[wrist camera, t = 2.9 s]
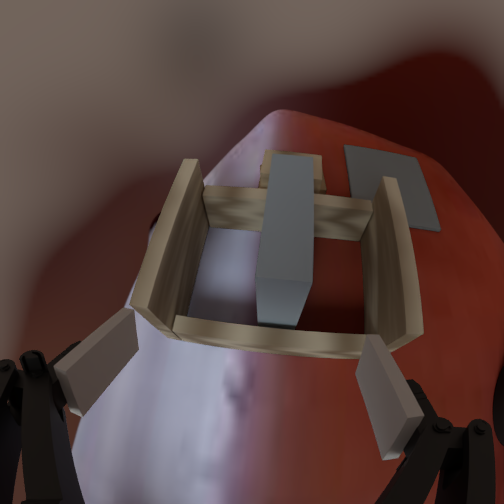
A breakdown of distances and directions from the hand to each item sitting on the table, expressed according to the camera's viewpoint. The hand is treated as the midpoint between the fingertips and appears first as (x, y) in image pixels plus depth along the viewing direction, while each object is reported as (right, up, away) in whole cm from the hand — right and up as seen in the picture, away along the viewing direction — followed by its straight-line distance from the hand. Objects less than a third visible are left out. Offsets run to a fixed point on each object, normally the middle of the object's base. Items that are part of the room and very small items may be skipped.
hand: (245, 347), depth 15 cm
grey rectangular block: (+4, +2, +17) cm, 18 cm away
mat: (+22, +15, +25) cm, 36 cm away
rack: (+4, +2, +17) cm, 18 cm away
